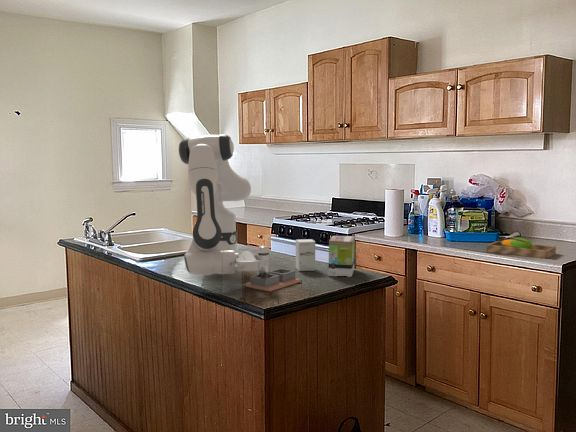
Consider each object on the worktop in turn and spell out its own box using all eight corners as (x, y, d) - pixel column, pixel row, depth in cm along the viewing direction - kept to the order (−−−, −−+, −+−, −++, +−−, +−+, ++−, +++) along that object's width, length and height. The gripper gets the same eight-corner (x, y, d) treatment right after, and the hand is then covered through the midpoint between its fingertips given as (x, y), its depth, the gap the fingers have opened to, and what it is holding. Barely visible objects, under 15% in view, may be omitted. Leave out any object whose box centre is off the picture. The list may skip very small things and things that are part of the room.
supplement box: (298, 271, 227) (298, 242, 225) (295, 268, 234) (295, 239, 233) (315, 270, 228) (315, 241, 227) (312, 267, 235) (311, 238, 234)
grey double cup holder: (245, 286, 202) (245, 275, 202) (276, 277, 216) (276, 267, 216) (269, 291, 195) (269, 280, 194) (300, 282, 209) (300, 271, 208)
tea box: (352, 277, 216) (353, 241, 214) (327, 276, 217) (327, 240, 216) (354, 269, 230) (355, 235, 229) (331, 268, 232) (331, 234, 230)
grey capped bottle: (256, 283, 201) (255, 247, 200) (264, 281, 204) (262, 245, 203) (265, 285, 199) (263, 248, 197) (272, 283, 202) (271, 246, 200)
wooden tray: (486, 252, 267) (486, 245, 266) (496, 247, 278) (496, 241, 278) (547, 258, 249) (547, 251, 249) (555, 253, 261) (555, 246, 260)
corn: (526, 240, 254) (496, 234, 272) (524, 256, 255) (494, 249, 273) (538, 240, 256) (507, 234, 275) (536, 256, 257) (506, 249, 276)
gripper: (231, 258, 187) (271, 256, 190) (227, 248, 207) (262, 247, 210) (232, 276, 188) (271, 274, 191) (227, 264, 208) (262, 262, 211)
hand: (266, 260), depth 200 cm, fingers open, 8 cm apart
